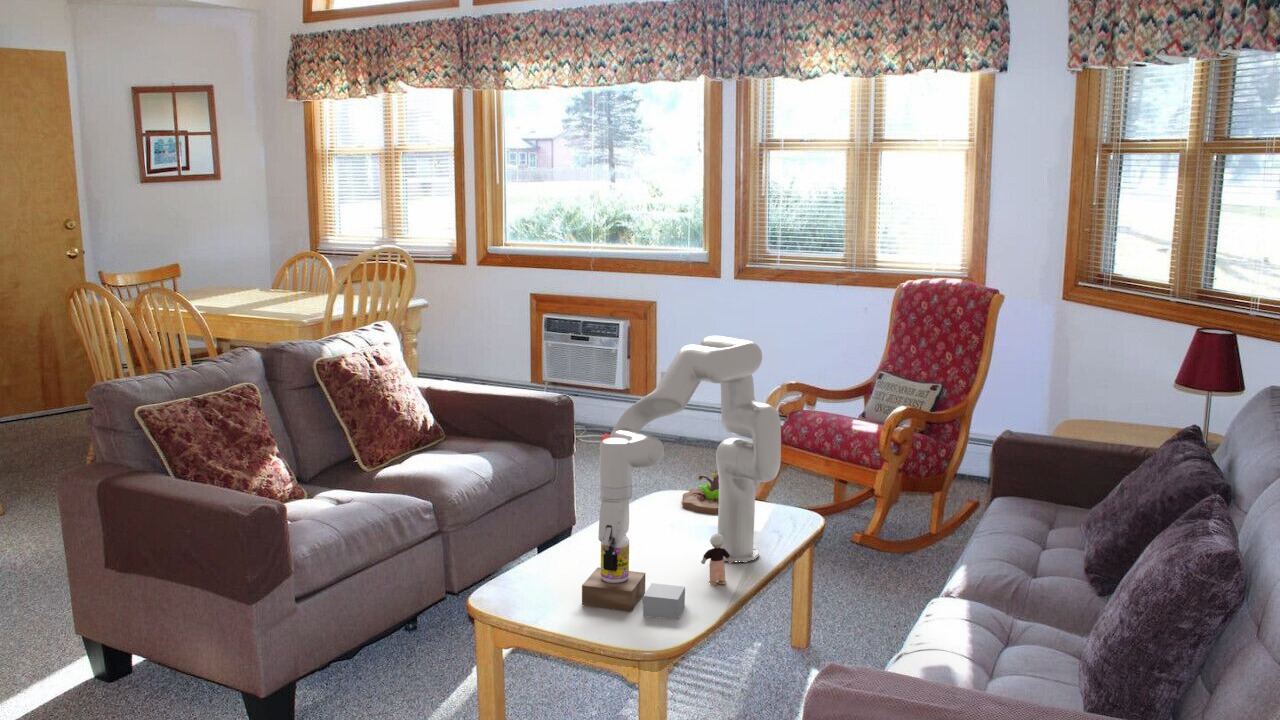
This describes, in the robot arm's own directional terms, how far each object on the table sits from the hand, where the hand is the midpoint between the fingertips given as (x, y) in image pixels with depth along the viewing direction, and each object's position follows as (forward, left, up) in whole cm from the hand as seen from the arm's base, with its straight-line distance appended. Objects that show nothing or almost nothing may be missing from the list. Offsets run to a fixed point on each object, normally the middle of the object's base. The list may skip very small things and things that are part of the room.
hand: (614, 563), depth 249 cm
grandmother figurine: (-17, +21, -9) cm, 28 cm away
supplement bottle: (0, 0, -4) cm, 4 cm away
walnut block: (0, 0, -9) cm, 9 cm away
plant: (-80, +8, -9) cm, 81 cm away
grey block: (+3, +13, -9) cm, 16 cm away
